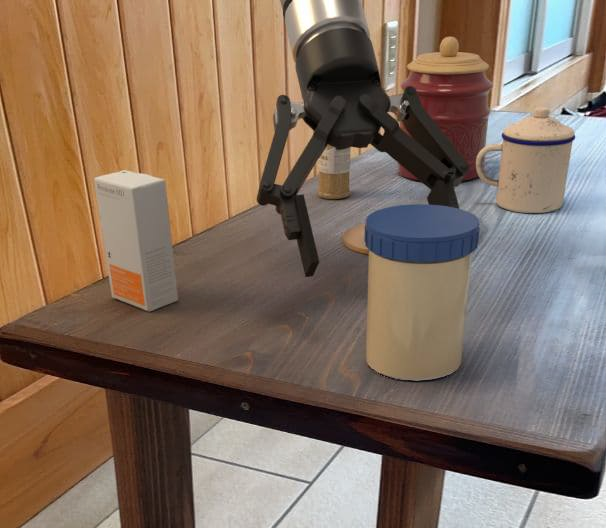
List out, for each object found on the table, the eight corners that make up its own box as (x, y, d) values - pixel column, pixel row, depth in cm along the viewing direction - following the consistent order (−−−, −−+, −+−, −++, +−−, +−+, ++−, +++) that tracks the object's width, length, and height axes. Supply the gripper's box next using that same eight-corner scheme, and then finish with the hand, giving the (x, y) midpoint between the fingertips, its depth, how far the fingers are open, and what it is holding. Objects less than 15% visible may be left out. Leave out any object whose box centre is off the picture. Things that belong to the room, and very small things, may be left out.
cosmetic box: (110, 299, 88) (91, 177, 81) (142, 287, 91) (126, 168, 84) (148, 313, 85) (131, 187, 78) (180, 301, 87) (167, 178, 80)
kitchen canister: (477, 161, 132) (490, 30, 122) (490, 183, 122) (505, 41, 111) (393, 163, 133) (399, 32, 122) (399, 184, 122) (406, 43, 112)
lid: (481, 230, 72) (483, 206, 70) (472, 266, 65) (475, 240, 63) (375, 224, 73) (375, 201, 72) (355, 258, 66) (355, 234, 65)
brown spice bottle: (312, 194, 119) (311, 86, 111) (341, 189, 121) (341, 83, 113) (327, 202, 116) (326, 91, 108) (356, 197, 117) (358, 88, 109)
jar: (465, 345, 78) (478, 213, 71) (456, 385, 71) (470, 245, 64) (374, 337, 79) (378, 208, 72) (357, 376, 73) (360, 239, 66)
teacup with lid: (561, 196, 116) (576, 101, 109) (567, 215, 109) (583, 115, 102) (472, 194, 118) (481, 100, 111) (471, 213, 110) (481, 114, 104)
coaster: (448, 228, 106) (448, 223, 105) (437, 259, 96) (437, 254, 96) (353, 223, 108) (353, 218, 108) (333, 253, 99) (333, 248, 98)
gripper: (440, 72, 87) (490, 265, 84) (200, 88, 81) (245, 295, 79) (468, 16, 80) (524, 225, 77) (206, 30, 74) (256, 256, 71)
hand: (383, 261), depth 78 cm, fingers open, 13 cm apart
